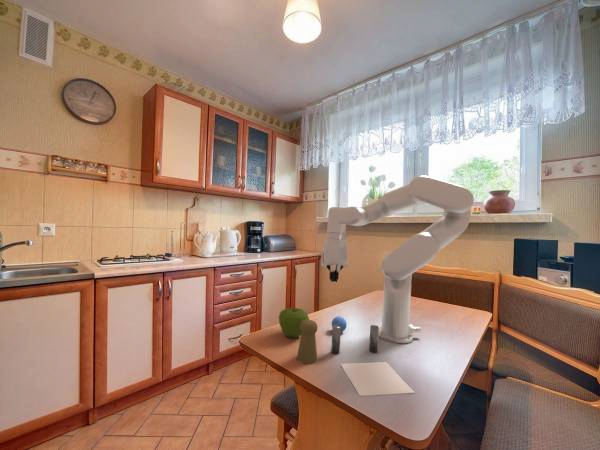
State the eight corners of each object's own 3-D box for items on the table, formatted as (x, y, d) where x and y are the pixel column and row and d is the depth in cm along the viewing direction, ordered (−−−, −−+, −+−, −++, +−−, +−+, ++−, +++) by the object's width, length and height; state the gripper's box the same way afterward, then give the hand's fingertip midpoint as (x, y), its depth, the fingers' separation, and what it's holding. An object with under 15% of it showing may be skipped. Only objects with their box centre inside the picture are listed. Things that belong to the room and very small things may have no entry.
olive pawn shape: (296, 353, 79) (298, 317, 80) (315, 353, 80) (317, 317, 80) (297, 363, 73) (299, 324, 74) (318, 363, 74) (320, 325, 74)
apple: (314, 337, 92) (315, 309, 92) (291, 345, 85) (293, 314, 85) (293, 327, 100) (295, 301, 100) (271, 334, 93) (273, 306, 93)
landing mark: (385, 362, 77) (385, 362, 77) (414, 393, 63) (414, 392, 63) (340, 364, 74) (340, 363, 74) (359, 396, 60) (359, 395, 60)
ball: (343, 328, 101) (344, 314, 101) (348, 334, 96) (349, 319, 96) (329, 328, 100) (330, 314, 100) (333, 334, 95) (334, 319, 95)
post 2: (375, 349, 85) (376, 325, 85) (378, 353, 82) (380, 328, 82) (367, 349, 84) (369, 325, 85) (371, 353, 82) (372, 328, 82)
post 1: (338, 350, 83) (339, 325, 83) (340, 354, 80) (341, 328, 80) (330, 350, 82) (331, 325, 82) (332, 354, 80) (333, 328, 80)
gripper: (350, 237, 113) (348, 279, 113) (316, 235, 110) (313, 279, 110) (356, 238, 105) (354, 283, 105) (320, 236, 103) (318, 282, 103)
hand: (333, 281), depth 108 cm, fingers closed
